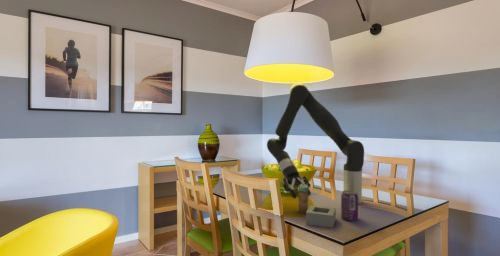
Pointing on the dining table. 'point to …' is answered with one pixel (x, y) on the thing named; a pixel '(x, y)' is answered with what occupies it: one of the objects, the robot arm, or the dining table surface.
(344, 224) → the dining table surface
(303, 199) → the green capped wooden peg
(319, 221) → the socket block
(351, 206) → the beverage can
